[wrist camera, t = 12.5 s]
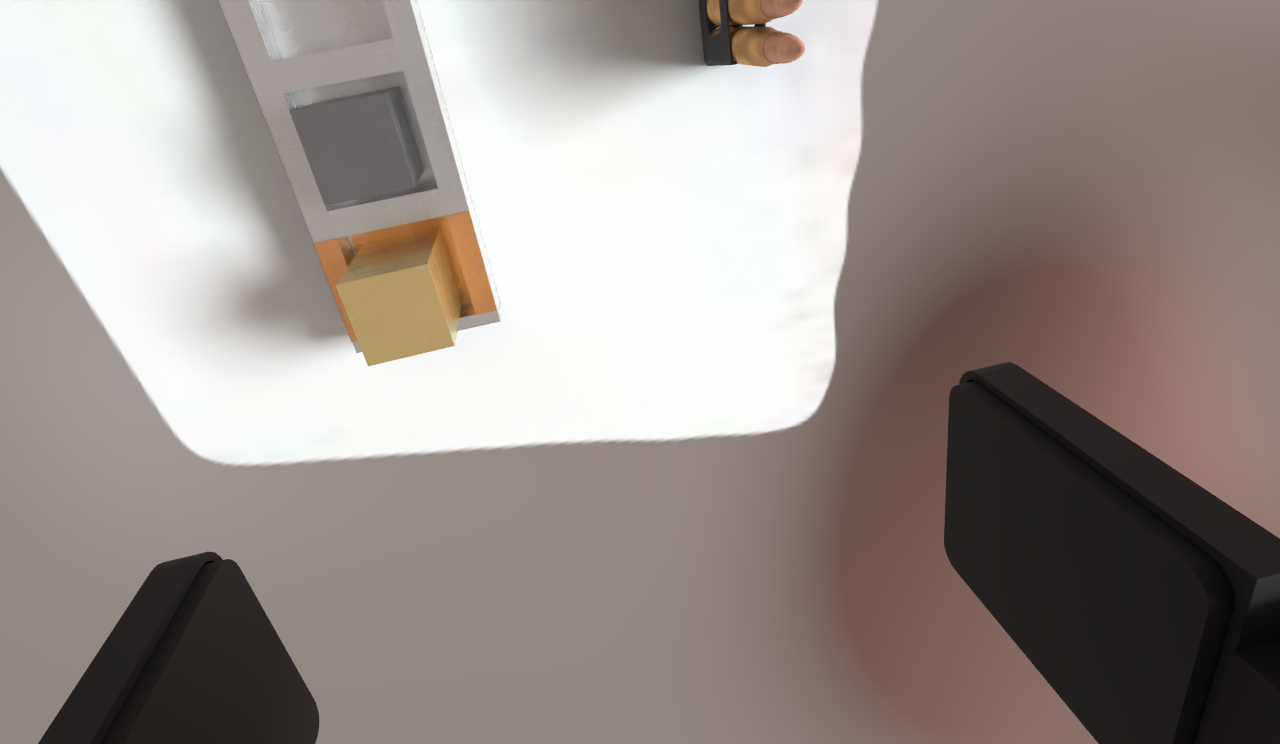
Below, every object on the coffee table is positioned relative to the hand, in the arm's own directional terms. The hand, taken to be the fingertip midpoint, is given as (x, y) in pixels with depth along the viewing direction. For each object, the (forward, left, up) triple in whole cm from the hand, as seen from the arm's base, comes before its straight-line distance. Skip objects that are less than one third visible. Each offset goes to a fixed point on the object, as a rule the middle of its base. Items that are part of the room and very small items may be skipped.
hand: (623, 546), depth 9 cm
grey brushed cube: (-2, -8, -32) cm, 33 cm away
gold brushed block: (+5, -8, -32) cm, 34 cm away
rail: (-2, -8, -33) cm, 34 cm away
